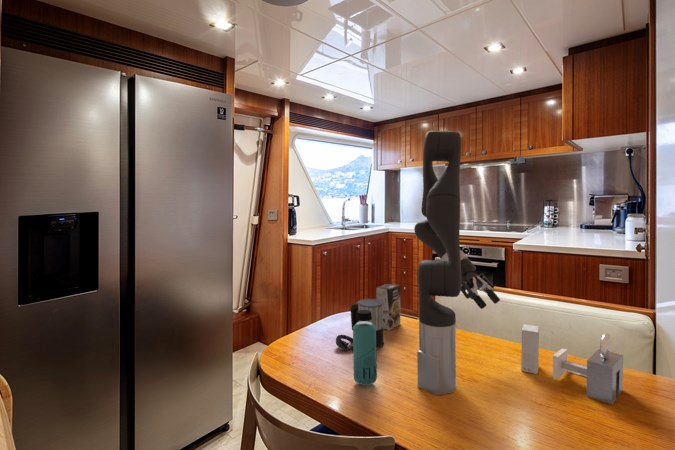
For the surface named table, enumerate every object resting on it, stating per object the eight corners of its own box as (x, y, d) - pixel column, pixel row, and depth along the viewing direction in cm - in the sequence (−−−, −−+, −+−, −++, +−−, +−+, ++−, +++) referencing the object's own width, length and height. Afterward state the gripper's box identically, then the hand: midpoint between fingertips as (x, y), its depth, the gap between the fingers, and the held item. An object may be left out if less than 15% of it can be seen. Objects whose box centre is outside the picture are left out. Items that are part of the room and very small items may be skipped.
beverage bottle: (361, 393, 88) (360, 316, 87) (348, 382, 94) (347, 309, 93) (382, 386, 91) (381, 312, 90) (368, 376, 97) (367, 306, 96)
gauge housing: (611, 404, 81) (613, 342, 80) (542, 380, 92) (542, 325, 92) (625, 385, 89) (626, 328, 88) (560, 365, 101) (560, 315, 100)
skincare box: (538, 374, 96) (538, 332, 95) (521, 371, 98) (521, 329, 97) (539, 366, 101) (539, 326, 100) (522, 362, 103) (522, 323, 102)
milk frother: (388, 342, 121) (388, 300, 121) (368, 359, 108) (367, 312, 107) (353, 334, 129) (353, 295, 128) (330, 349, 116) (329, 306, 115)
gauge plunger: (604, 396, 83) (604, 370, 83) (552, 379, 92) (552, 355, 91) (616, 380, 90) (617, 356, 90) (567, 366, 99) (567, 344, 99)
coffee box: (390, 330, 132) (390, 289, 131) (376, 327, 136) (375, 287, 135) (401, 324, 139) (400, 284, 139) (387, 321, 143) (386, 283, 143)
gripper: (453, 259, 109) (488, 302, 101) (476, 254, 118) (510, 293, 110) (438, 273, 114) (471, 316, 105) (462, 268, 123) (494, 306, 114)
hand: (491, 304), depth 108 cm, fingers open, 8 cm apart
